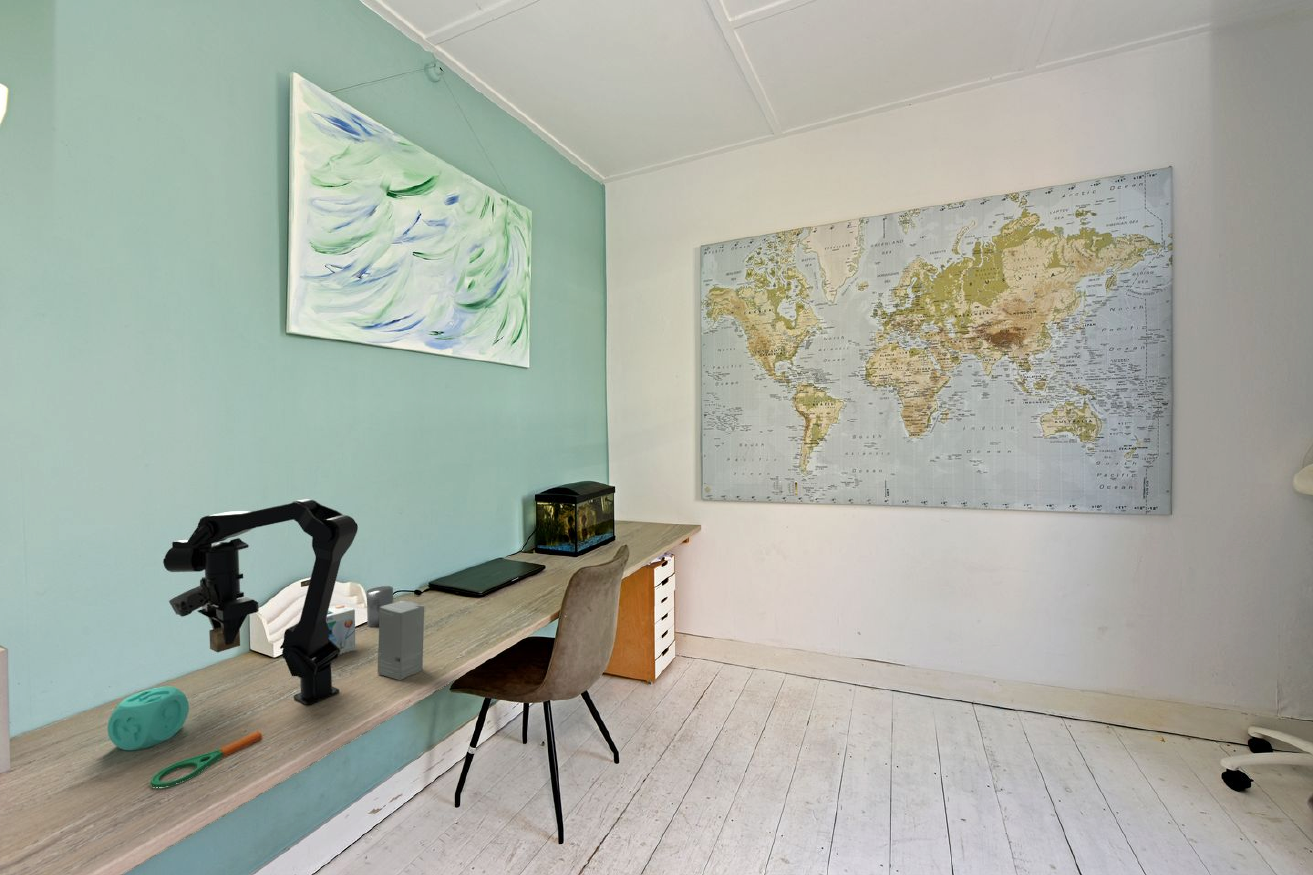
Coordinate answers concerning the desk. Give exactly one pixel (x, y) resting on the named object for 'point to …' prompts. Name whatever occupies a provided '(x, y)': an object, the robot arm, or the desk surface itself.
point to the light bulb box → (342, 627)
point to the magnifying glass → (203, 760)
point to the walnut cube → (221, 640)
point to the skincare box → (400, 639)
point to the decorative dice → (148, 718)
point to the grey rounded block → (377, 603)
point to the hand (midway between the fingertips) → (225, 642)
